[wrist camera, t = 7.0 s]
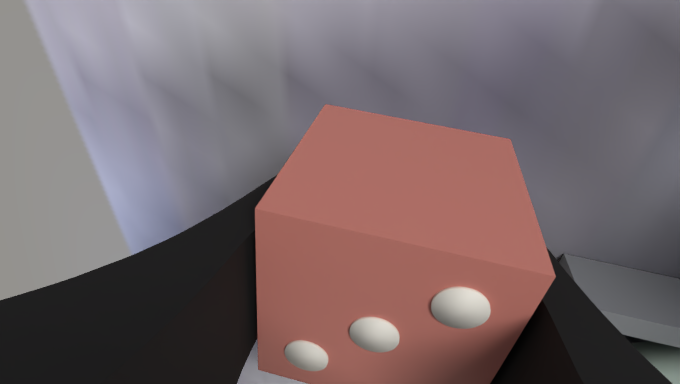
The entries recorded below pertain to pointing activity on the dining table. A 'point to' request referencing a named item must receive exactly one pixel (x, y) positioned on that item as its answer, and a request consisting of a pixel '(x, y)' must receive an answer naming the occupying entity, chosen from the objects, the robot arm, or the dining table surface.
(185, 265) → the robot arm
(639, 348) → the dome
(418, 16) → the dining table surface
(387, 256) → the small die
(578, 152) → the dining table surface
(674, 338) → the grey square tray
